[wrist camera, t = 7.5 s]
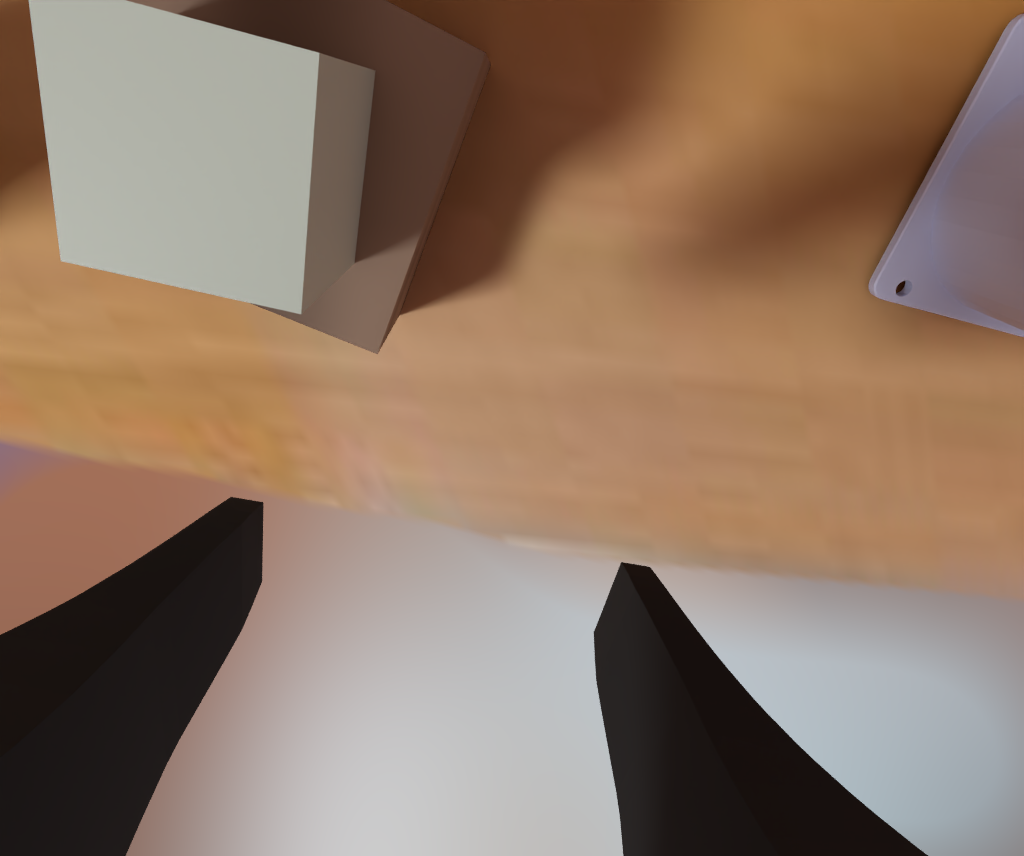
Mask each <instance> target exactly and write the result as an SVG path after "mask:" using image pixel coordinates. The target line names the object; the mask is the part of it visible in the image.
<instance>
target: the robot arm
mask: <svg viewBox="0 0 1024 856" xmlns="http://www.w3.org/2000/svg"><path fill="white" fill-rule="evenodd" d="M902 281H905V286H904V288H903V289H902V290H901V291H900V292H898V293H896V287H897V286H898V284H899V283H901V282H902ZM869 291H870V292H871V294H872V295H874V296H876V297H878V298H880V299H882V300H886V301H890V302H894V303H897V304H901V305H905V306H909V307H912V308H916V309H920V310H924V311H927V312H931V313H935V314H939V315H942V316H946V317H950V318H954V319H957V320H961V321H965V322H969V323H972V324H976V325H980V326H984V327H987V328H991V329H995V330H999V331H1002V332H1006V333H1010V334H1014V335H1017V336H1021V337H1024V13H1023V14H1020V15H1018V16H1016V17H1015V18H1014V19H1013V20H1011V21H1010V23H1009V24H1008V25H1007V27H1006V28H1005V30H1004V31H1003V33H1002V35H1001V37H1000V39H999V41H998V43H997V44H996V46H995V48H994V50H993V52H992V54H991V56H990V57H989V59H988V61H987V63H986V65H985V67H984V69H983V70H982V72H981V74H980V76H979V78H978V80H977V82H976V83H975V85H974V87H973V89H972V91H971V93H970V95H969V96H968V98H967V100H966V102H965V104H964V106H963V108H962V109H961V111H960V113H959V115H958V117H957V119H956V121H955V122H954V124H953V126H952V128H951V130H950V132H949V134H948V135H947V137H946V139H945V141H944V143H943V145H942V147H941V148H940V150H939V152H938V154H937V156H936V158H935V160H934V161H933V163H932V165H931V167H930V169H929V171H928V173H927V175H926V176H925V178H924V180H923V182H922V184H921V186H920V188H919V189H918V191H917V193H916V195H915V197H914V199H913V201H912V202H911V204H910V206H909V208H908V210H907V212H906V214H905V215H904V217H903V219H902V221H901V223H900V225H899V227H898V228H897V230H896V232H895V234H894V236H893V238H892V240H891V241H890V243H889V245H888V247H887V249H886V251H885V253H884V254H883V256H882V258H881V260H880V262H879V264H878V266H877V267H876V269H875V271H874V273H873V275H872V277H871V279H870V282H869ZM262 550H263V502H258V501H252V500H245V499H239V498H233V497H230V498H229V499H227V500H226V501H224V502H223V503H221V504H220V505H218V506H217V507H215V508H214V509H212V510H211V511H209V512H208V513H206V514H205V515H204V516H202V517H201V518H199V519H198V520H196V521H195V522H194V523H192V524H190V525H189V526H188V527H186V528H185V529H183V530H181V531H180V532H179V533H177V534H176V535H174V536H173V537H171V538H170V539H168V540H167V541H165V542H164V543H162V544H161V545H159V546H157V547H156V548H154V549H153V550H151V551H150V552H148V553H147V554H145V555H144V556H142V557H141V558H139V559H138V560H136V561H134V562H133V563H131V564H130V565H128V566H126V567H125V568H123V569H122V570H120V571H118V572H117V573H115V574H113V575H111V576H110V577H108V578H106V579H105V580H103V581H101V582H100V583H98V584H96V585H95V586H93V587H91V588H90V589H88V590H86V591H85V592H83V593H81V594H79V595H78V596H76V597H74V598H72V599H70V600H69V601H67V602H65V603H63V604H61V605H59V606H57V607H56V608H54V609H52V610H50V611H48V612H46V613H44V614H42V615H40V616H38V617H36V618H34V619H32V620H30V621H28V622H26V623H24V624H22V625H20V626H18V627H16V628H14V629H12V630H10V631H8V632H5V633H3V634H1V635H0V856H126V853H127V851H128V849H129V846H130V844H131V842H132V840H133V837H134V835H135V833H136V831H137V828H138V826H139V823H140V821H141V819H142V817H143V815H144V813H145V810H146V808H147V806H148V804H149V802H150V799H151V797H152V795H153V793H154V791H155V788H156V786H157V784H158V782H159V780H160V778H161V775H162V773H163V771H164V769H165V767H166V764H167V762H168V761H169V759H170V757H171V755H172V753H173V751H174V749H175V747H176V745H177V743H178V741H179V739H180V738H181V736H182V734H183V732H184V731H185V729H186V727H187V725H188V724H189V722H190V720H191V718H192V717H193V715H194V713H195V711H196V709H197V708H198V706H199V704H200V703H201V701H202V699H203V697H204V696H205V694H206V692H207V690H208V689H209V687H210V685H211V683H212V682H213V680H214V678H215V676H216V675H217V673H218V671H219V669H220V668H221V666H222V664H223V662H224V661H225V659H226V657H227V655H228V654H229V652H230V650H231V648H232V646H233V645H234V643H235V641H236V639H237V637H238V636H239V634H240V632H241V630H242V628H243V626H244V624H245V621H246V619H247V617H248V614H249V612H250V610H251V607H252V605H253V602H254V600H255V597H256V595H257V592H258V590H259V587H260V585H261V583H262ZM594 647H595V666H596V681H597V687H598V693H599V698H600V704H601V710H602V716H603V721H604V727H605V732H606V738H607V743H608V748H609V754H610V760H611V765H612V771H613V776H614V781H615V787H616V792H617V799H618V806H619V813H620V821H621V832H622V844H623V854H624V856H928V855H926V854H925V853H924V852H922V851H921V850H920V849H918V848H917V847H916V846H915V845H913V844H912V843H911V842H910V841H908V840H907V839H906V838H904V837H903V836H902V835H901V834H899V833H898V832H897V831H896V830H895V829H893V828H892V827H891V826H890V825H888V824H887V823H886V822H884V821H883V820H882V819H881V818H880V817H878V816H877V815H876V814H875V813H874V812H872V811H871V810H870V809H869V808H867V807H866V806H865V805H864V804H863V803H862V802H860V801H859V800H858V799H857V798H856V797H854V796H853V795H852V794H851V793H850V792H849V791H848V790H846V789H845V788H844V787H843V786H842V785H841V784H840V783H839V782H838V781H837V780H835V779H834V778H833V777H832V776H831V775H830V774H829V773H828V772H827V771H825V770H824V769H823V768H822V767H821V766H820V765H819V764H818V763H816V762H815V761H814V760H813V759H812V758H811V757H810V756H809V755H808V754H807V753H806V752H805V751H804V750H803V749H802V748H801V747H800V746H799V745H798V744H796V742H794V741H793V739H792V738H791V737H789V735H788V734H787V733H786V732H785V731H784V730H783V729H782V728H781V727H780V726H779V725H778V724H777V723H776V722H775V721H774V720H773V719H772V718H771V717H770V716H769V715H768V714H767V713H766V712H765V711H764V710H763V708H762V707H761V706H760V705H759V704H758V703H757V702H756V701H755V700H754V699H753V698H752V696H751V695H750V694H749V693H748V692H747V691H746V690H745V688H744V687H743V686H742V685H741V684H740V683H739V681H738V680H737V679H736V678H735V677H734V676H733V674H732V673H731V672H730V671H729V670H728V669H727V667H726V666H725V665H724V664H723V663H722V661H721V660H720V659H719V658H718V656H717V655H716V654H715V653H714V652H713V650H712V649H711V648H710V646H709V645H708V644H707V643H706V641H705V640H704V639H703V637H702V636H701V635H700V633H699V632H698V631H697V630H696V628H695V627H694V626H693V624H692V623H691V622H690V620H689V619H688V618H687V616H686V615H685V614H684V612H683V611H682V610H681V608H680V607H679V605H678V604H677V603H676V602H675V600H674V599H673V598H672V596H671V595H670V593H669V592H668V591H667V589H666V588H665V587H664V585H663V584H662V582H661V581H660V580H659V578H658V577H657V576H656V574H655V573H654V572H653V570H652V569H651V568H650V567H647V566H641V565H635V564H629V563H623V562H621V564H620V567H619V570H618V572H617V575H616V577H615V580H614V582H613V585H612V588H611V590H610V593H609V595H608V598H607V600H606V603H605V606H604V608H603V611H602V613H601V616H600V618H599V621H598V624H597V626H596V628H595V631H594Z"/></svg>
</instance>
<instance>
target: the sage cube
mask: <svg viewBox="0 0 1024 856" xmlns="http://www.w3.org/2000/svg"><path fill="white" fill-rule="evenodd" d="M29 8H30V16H31V24H32V32H33V40H34V48H35V56H36V64H37V72H38V80H39V88H40V97H41V105H42V113H43V121H44V129H45V137H46V145H47V153H48V161H49V169H50V177H51V185H52V194H53V202H54V210H55V218H56V226H57V234H58V242H59V250H60V258H61V261H63V262H67V263H72V264H76V265H81V266H86V267H90V268H95V269H99V270H104V271H108V272H113V273H117V274H122V275H126V276H131V277H135V278H140V279H144V280H149V281H153V282H158V283H162V284H167V285H171V286H176V287H180V288H185V289H189V290H194V291H198V292H203V293H207V294H212V295H216V296H221V297H225V298H230V299H234V300H239V301H243V302H248V303H252V304H257V305H261V306H266V307H270V308H275V309H279V310H284V311H288V312H293V313H297V314H302V313H303V312H304V311H305V310H306V309H307V308H308V307H309V306H310V305H311V304H312V303H313V302H315V301H316V300H317V299H318V298H319V297H320V296H321V295H322V294H323V293H324V292H325V291H326V290H327V289H328V288H329V287H330V286H331V285H332V284H333V283H334V282H335V281H336V280H337V279H338V278H340V277H341V276H342V275H343V274H344V273H345V272H346V271H347V270H348V269H349V268H350V267H351V266H352V265H353V264H354V263H355V254H356V244H357V235H358V226H359V217H360V208H361V199H362V190H363V180H364V171H365V162H366V153H367V144H368V135H369V126H370V116H371V107H372V98H373V89H374V80H375V70H372V69H369V68H366V67H362V66H359V65H356V64H353V63H350V62H347V61H343V60H340V59H337V58H334V57H331V56H328V55H324V54H321V53H318V52H314V51H311V50H307V49H303V48H300V47H296V46H292V45H288V44H285V43H281V42H277V41H274V40H270V39H266V38H263V37H259V36H255V35H252V34H248V33H244V32H241V31H237V30H233V29H230V28H226V27H222V26H219V25H215V24H211V23H207V22H204V21H200V20H196V19H193V18H189V17H185V16H182V15H178V14H174V13H171V12H167V11H163V10H160V9H156V8H152V7H149V6H145V5H141V4H138V3H134V2H130V1H127V0H29Z"/></svg>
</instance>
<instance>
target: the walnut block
mask: <svg viewBox="0 0 1024 856" xmlns="http://www.w3.org/2000/svg"><path fill="white" fill-rule="evenodd" d="M127 1H130V2H134V3H138V4H141V5H145V6H149V7H152V8H156V9H160V10H163V11H167V12H171V13H174V14H178V15H182V16H185V17H189V18H193V19H196V20H200V21H204V22H207V23H211V24H215V25H219V26H222V27H226V28H230V29H233V30H237V31H241V32H244V33H248V34H252V35H255V36H259V37H263V38H266V39H270V40H274V41H277V42H281V43H285V44H288V45H292V46H296V47H300V48H303V49H307V50H311V51H314V52H318V53H321V54H324V55H328V56H331V57H334V58H337V59H340V60H343V61H347V62H350V63H353V64H356V65H359V66H362V67H366V68H369V69H372V70H375V80H374V89H373V98H372V107H371V116H370V126H369V135H368V144H367V153H366V162H365V171H364V180H363V190H362V199H361V208H360V217H359V226H358V235H357V244H356V254H355V263H354V264H353V265H352V266H351V267H350V268H349V269H348V270H347V271H346V272H345V273H344V274H343V275H342V276H341V277H340V278H338V279H337V280H336V281H335V282H334V283H333V284H332V285H331V286H330V287H329V288H328V289H327V290H326V291H325V292H324V293H323V294H322V295H321V296H320V297H319V298H318V299H317V300H316V301H315V302H313V303H312V304H311V305H310V306H309V307H308V308H307V309H306V310H305V311H304V312H303V313H302V314H297V313H293V312H288V311H284V310H279V309H275V308H270V307H266V306H261V305H257V304H253V305H256V306H258V307H261V308H263V309H266V310H268V311H271V312H273V313H276V314H278V315H281V316H283V317H286V318H288V319H291V320H293V321H296V322H298V323H301V324H303V325H306V326H308V327H311V328H313V329H316V330H318V331H321V332H323V333H326V334H328V335H331V336H333V337H336V338H338V339H341V340H343V341H346V342H348V343H351V344H353V345H356V346H358V347H361V348H363V349H366V350H368V351H371V352H373V353H376V354H378V352H379V350H380V349H381V347H382V345H383V343H384V342H385V340H386V338H387V336H388V334H389V333H390V331H391V329H392V327H393V325H394V324H395V322H396V320H397V318H398V317H399V314H400V312H401V309H402V306H403V304H404V301H405V298H406V295H407V293H408V290H409V287H410V284H411V282H412V279H413V276H414V273H415V271H416V268H417V265H418V263H419V260H420V257H421V254H422V252H423V249H424V246H425V243H426V241H427V238H428V235H429V232H430V230H431V227H432V224H433V221H434V219H435V216H436V213H437V211H438V208H439V205H440V202H441V200H442V197H443V194H444V191H445V189H446V186H447V183H448V180H449V178H450V175H451V172H452V170H453V167H454V164H455V161H456V159H457V156H458V153H459V150H460V148H461V145H462V142H463V139H464V137H465V134H466V131H467V128H468V126H469V123H470V120H471V118H472V115H473V112H474V109H475V107H476V104H477V101H478V98H479V96H480V93H481V90H482V87H483V85H484V82H485V79H486V77H487V74H488V71H489V68H490V66H491V64H490V62H489V59H488V57H487V55H486V53H485V52H484V51H482V50H480V49H478V48H476V47H474V46H472V45H470V44H468V43H466V42H464V41H463V40H461V39H459V38H457V37H455V36H453V35H451V34H449V33H447V32H445V31H443V30H441V29H440V28H438V27H436V26H434V25H432V24H430V23H428V22H426V21H424V20H422V19H420V18H419V17H417V16H415V15H413V14H411V13H409V12H407V11H405V10H403V9H401V8H399V7H398V6H396V5H394V4H392V3H390V2H388V1H386V0H127ZM251 304H252V303H251Z"/></svg>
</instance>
